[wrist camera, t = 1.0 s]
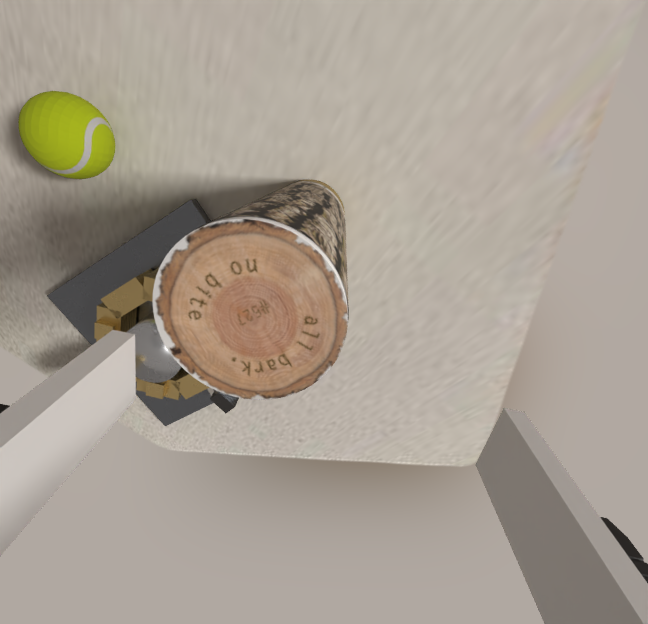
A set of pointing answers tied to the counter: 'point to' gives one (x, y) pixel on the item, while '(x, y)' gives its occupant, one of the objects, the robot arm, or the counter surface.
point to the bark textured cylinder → (259, 294)
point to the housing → (140, 308)
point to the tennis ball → (66, 135)
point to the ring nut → (122, 317)
